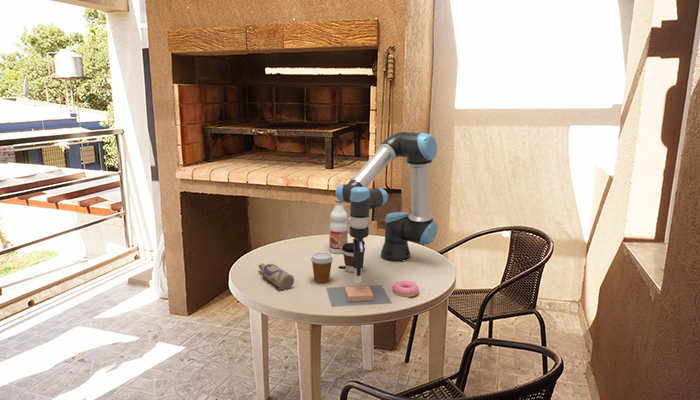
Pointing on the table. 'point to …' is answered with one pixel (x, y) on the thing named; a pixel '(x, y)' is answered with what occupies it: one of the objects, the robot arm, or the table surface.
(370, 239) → the table surface
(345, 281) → the table surface
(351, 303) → the mat
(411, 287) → the doughnut
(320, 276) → the disposable coffee cup
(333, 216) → the fruit juice
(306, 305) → the table surface
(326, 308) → the table surface
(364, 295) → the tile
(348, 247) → the coffee cup
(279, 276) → the decorative bottle
